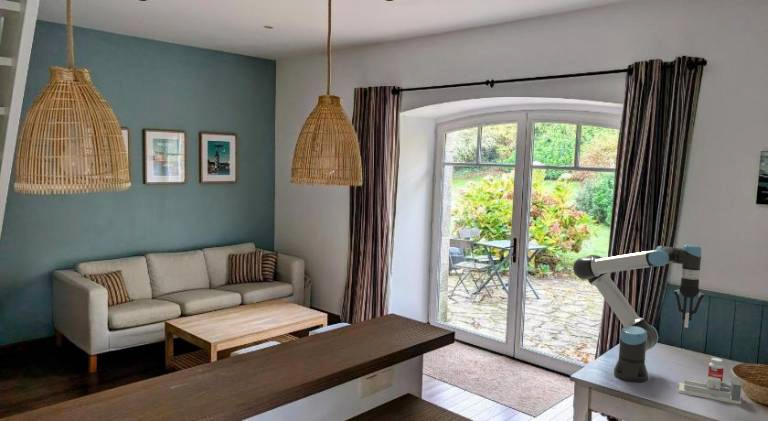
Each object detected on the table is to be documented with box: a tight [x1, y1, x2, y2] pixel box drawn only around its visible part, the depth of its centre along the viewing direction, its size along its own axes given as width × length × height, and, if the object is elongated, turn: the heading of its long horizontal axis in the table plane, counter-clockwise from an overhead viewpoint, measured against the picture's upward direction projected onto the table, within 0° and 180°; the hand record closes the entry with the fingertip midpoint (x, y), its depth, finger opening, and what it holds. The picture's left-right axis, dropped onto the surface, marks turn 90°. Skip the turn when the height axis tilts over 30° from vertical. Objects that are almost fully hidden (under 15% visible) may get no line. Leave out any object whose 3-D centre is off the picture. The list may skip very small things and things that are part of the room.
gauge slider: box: [706, 375, 726, 391], centre depth 255 cm, size 7×7×6 cm
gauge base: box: [678, 377, 742, 405], centre depth 257 cm, size 24×10×8 cm, turn 62°
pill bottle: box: [707, 357, 725, 384], centre depth 273 cm, size 6×6×11 cm
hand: (686, 326), depth 271 cm, fingers closed
